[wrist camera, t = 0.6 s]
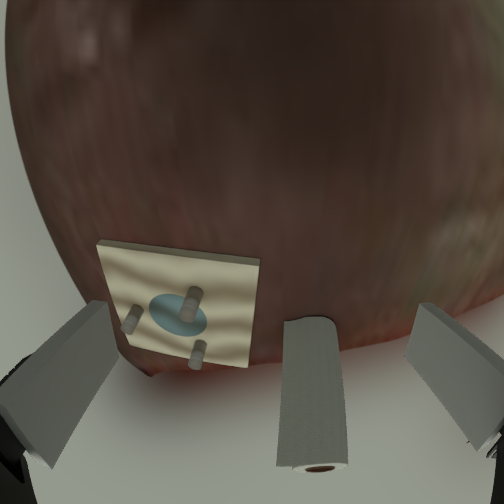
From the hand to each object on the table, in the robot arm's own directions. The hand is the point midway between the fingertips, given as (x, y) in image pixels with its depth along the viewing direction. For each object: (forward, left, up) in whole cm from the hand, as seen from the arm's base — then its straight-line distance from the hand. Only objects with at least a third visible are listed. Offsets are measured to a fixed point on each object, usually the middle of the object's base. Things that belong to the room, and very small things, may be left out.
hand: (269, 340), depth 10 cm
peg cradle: (+21, -12, -20) cm, 32 cm away
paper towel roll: (+21, +8, -20) cm, 31 cm away
